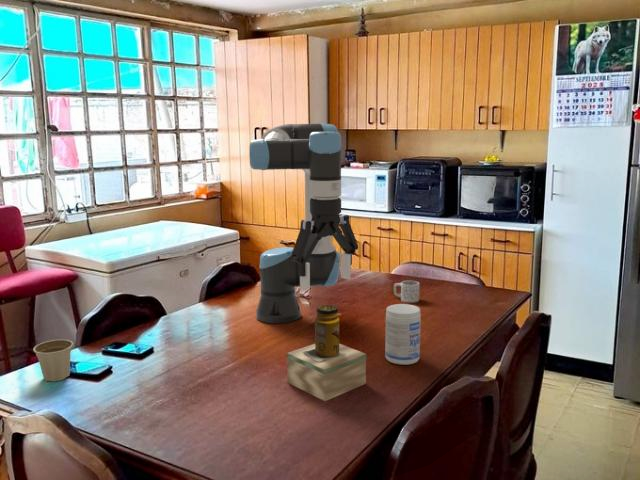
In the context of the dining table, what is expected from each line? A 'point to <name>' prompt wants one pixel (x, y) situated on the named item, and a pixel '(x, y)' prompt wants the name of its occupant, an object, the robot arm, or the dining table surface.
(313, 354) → the condiment
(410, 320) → the supplement tub
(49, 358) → the flower pot
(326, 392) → the wooden box
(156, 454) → the dining table surface
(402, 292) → the mug
